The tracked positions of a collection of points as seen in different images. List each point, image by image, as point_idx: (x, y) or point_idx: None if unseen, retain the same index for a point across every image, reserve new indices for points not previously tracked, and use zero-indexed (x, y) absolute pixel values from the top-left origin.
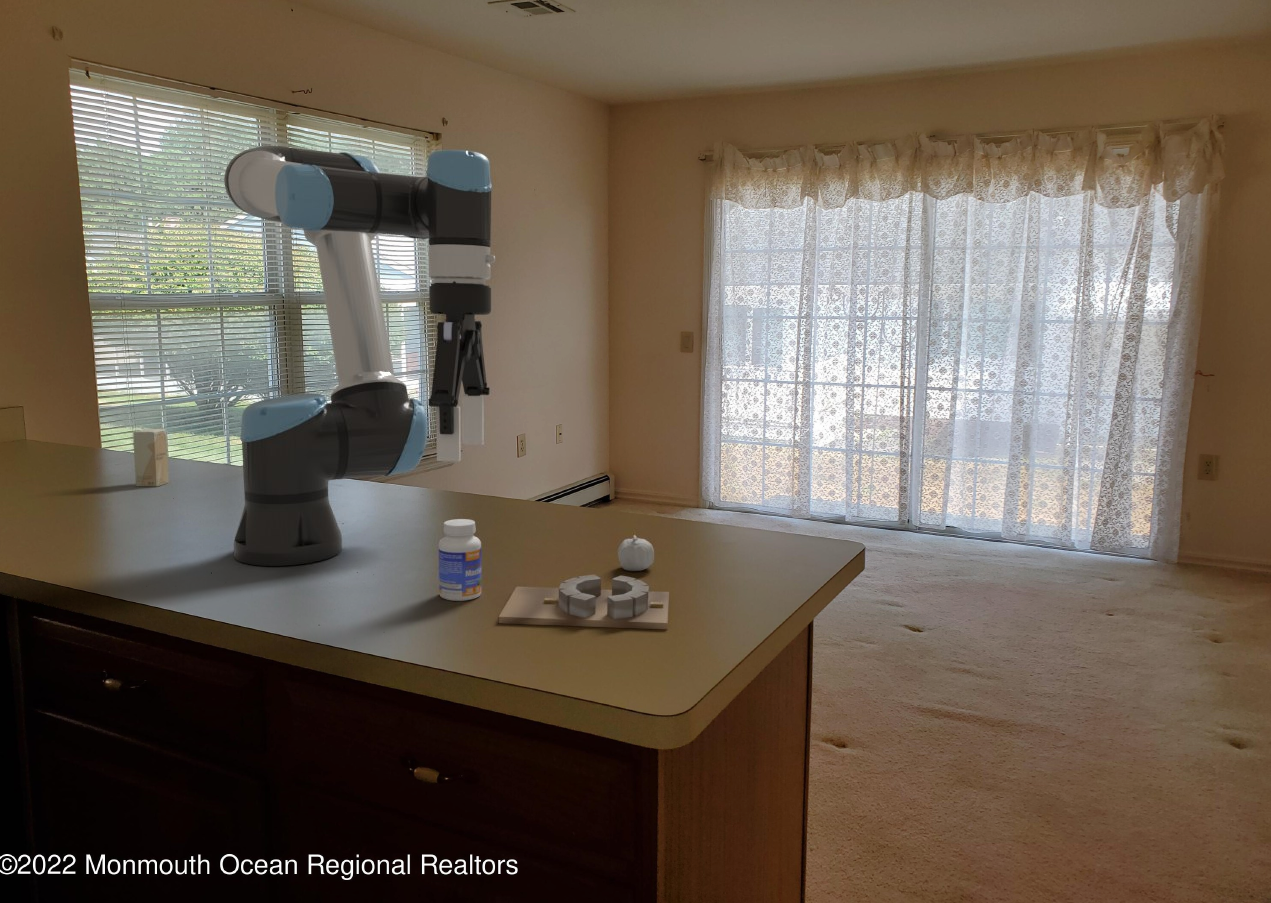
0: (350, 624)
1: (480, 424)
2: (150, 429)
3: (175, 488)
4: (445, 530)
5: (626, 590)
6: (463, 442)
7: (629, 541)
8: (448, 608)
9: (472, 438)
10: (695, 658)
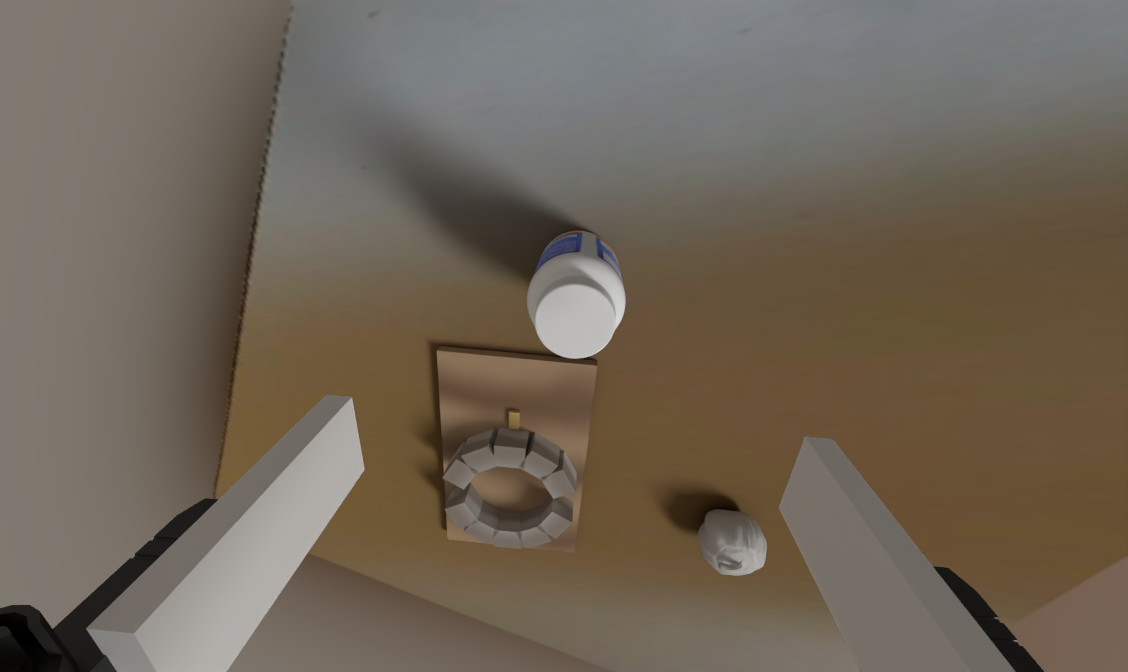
0: (388, 86)
1: (827, 587)
2: None
3: None
4: (548, 286)
5: (537, 516)
6: (807, 446)
7: (731, 554)
8: (502, 258)
9: (804, 495)
10: (365, 545)
